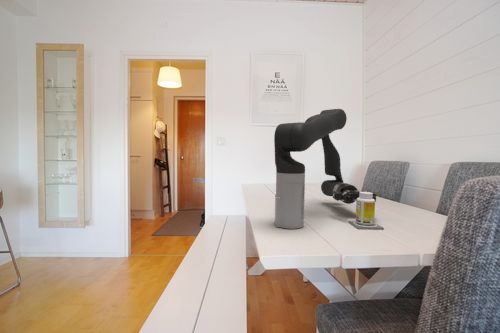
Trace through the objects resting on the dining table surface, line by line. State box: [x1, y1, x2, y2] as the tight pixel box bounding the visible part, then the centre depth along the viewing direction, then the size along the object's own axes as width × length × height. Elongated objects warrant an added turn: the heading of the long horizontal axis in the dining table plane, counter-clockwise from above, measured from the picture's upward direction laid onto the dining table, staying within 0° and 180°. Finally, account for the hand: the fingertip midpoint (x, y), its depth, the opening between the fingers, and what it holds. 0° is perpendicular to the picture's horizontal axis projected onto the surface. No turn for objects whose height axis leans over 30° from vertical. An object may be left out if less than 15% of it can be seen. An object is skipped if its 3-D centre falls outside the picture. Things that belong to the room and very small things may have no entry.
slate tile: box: [347, 220, 384, 231], centre depth 83 cm, size 8×8×1 cm
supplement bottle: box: [355, 191, 376, 225], centre depth 83 cm, size 6×6×10 cm
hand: (361, 199), depth 86 cm, fingers open, 8 cm apart
